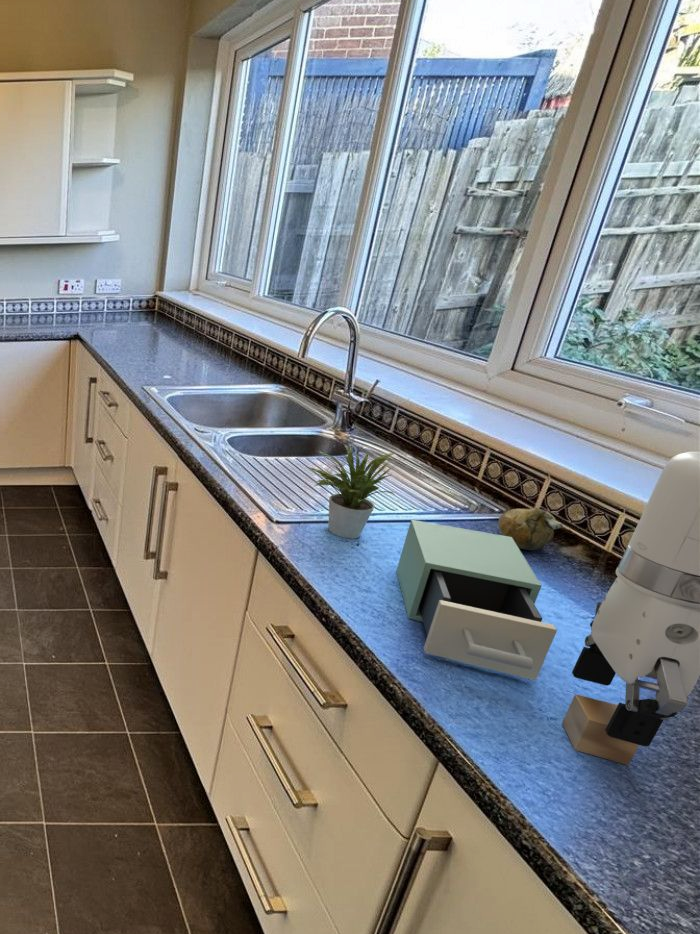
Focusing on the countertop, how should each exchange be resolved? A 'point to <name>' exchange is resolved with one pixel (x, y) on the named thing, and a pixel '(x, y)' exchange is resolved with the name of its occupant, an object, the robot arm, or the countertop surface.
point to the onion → (528, 527)
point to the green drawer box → (459, 560)
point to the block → (595, 730)
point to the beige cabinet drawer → (484, 624)
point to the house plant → (352, 494)
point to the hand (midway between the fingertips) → (606, 708)
